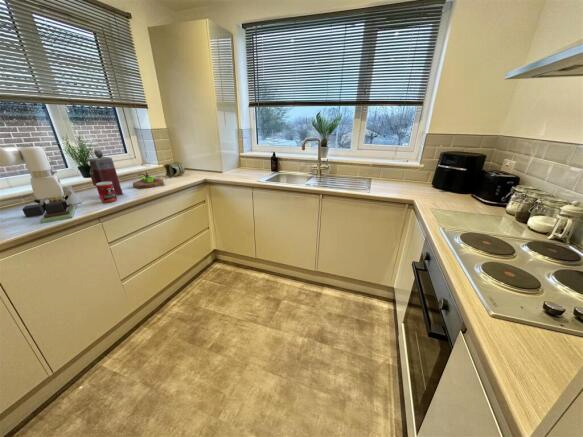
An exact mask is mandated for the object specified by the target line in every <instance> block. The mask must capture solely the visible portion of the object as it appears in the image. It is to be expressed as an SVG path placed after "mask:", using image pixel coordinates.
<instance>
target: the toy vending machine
mask: <svg viewBox="0 0 583 437" xmlns="http://www.w3.org/2000/svg"><path fill="white" fill-rule="evenodd" d="M94 155H95V156H96V157H91V158H88V162H89V167H90V169H89V176H90V179H91V182H92V185H93V186H94V187H96V184H97V183H100V182H107V181H110V182H112V184H113V187H114V190H115V193H116V197H117V196H121V195H124V193H123V190H122V187H121V183H120V181H119V180H120V179H119V176H118V174H117V171H116V167H115V164H114V161H113V158H112V157H111V156H103V151H102V150H100V149H95V150H94Z"/></svg>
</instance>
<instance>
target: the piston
mask: <svg viewBox="0 0 583 437" xmlns="http://www.w3.org/2000/svg"><path fill="white" fill-rule="evenodd" d="M163 168H165V176H166V177H167V178H168V179H173V178H175V177H176V178H177V177H179V176H183V175H184V174H185V172H186V169H185V168H186V167H185V166H184V164H183V163H182V162H180V161H174V162H170V163H166V164H164V166H163Z"/></svg>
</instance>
